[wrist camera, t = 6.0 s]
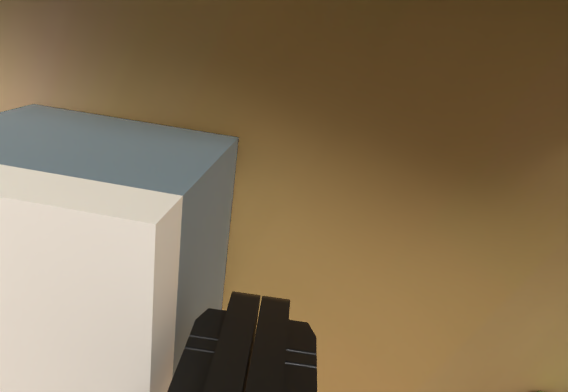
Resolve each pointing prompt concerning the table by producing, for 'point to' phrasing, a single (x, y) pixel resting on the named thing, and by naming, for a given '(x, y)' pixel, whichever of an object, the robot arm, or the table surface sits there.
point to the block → (106, 247)
